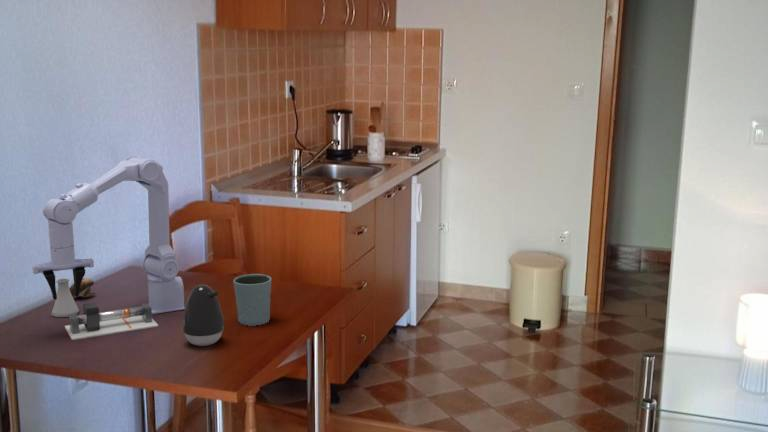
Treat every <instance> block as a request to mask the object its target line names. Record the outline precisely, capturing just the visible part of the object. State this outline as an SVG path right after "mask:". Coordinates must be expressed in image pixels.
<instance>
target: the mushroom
mask: <svg viewBox="0 0 768 432" xmlns="http://www.w3.org/2000/svg"><path fill="white" fill-rule="evenodd" d="M94 283H95V282H94V280H93V279H91V278H90V279H89V278H83V279H82V282H81V285H80V289H79V296H78V297H76V296H75V295H74V283H72V284H71V286H69V289H70V292H71V295H72V297H73V299H76V298H79V297H83V298H84V299H86V298H87V299H88V298H91V297H93V296H94V295H95V292H94V291H92V290H91V287H93V286H94V285H95V284H94Z"/></svg>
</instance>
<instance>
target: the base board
mask: <svg viewBox="0 0 768 432" xmlns="http://www.w3.org/2000/svg"><path fill="white" fill-rule="evenodd" d="M157 327H159V324H158V323H157V322H156V320H154V319H153V318H152V322H149V323H146V322H145V321H144V320H143V319H142V316H135V317H130V318H121V319H115V320H108V321H101V322H100V329H97V330H91V331H88V330H87V328H86V327H85V325H84V324H81V325H79V333H77V334H73V333H72V332H71V330H70V324H68V325H64V329H65V331H66V332H67V334H68V336H69V337H70V339H71V341H74V340H75V341H77V340H81V339H82V340H83V339H88V338H94V337H95V338H96V337H101V336H107V335H113V334H120V333H126V332H132V331H138V330H139V331H140V330H144V329H145V330H146V329H151V328H157Z"/></svg>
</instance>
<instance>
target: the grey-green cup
mask: <svg viewBox="0 0 768 432" xmlns="http://www.w3.org/2000/svg"><path fill="white" fill-rule="evenodd" d="M232 282H233V288H234V295H235V302H236V309H237V311H236V313H237V321H238V323H239V322H240V323H241V324H240V323H239V324H240V325H242V324H244V325H243V326H246V325H248V326H249V327H257V326H256V325H259V326H262V325H261V324H263V325H266V324H268V323H269V322H270V321H271V309H270V308H271V300H272V299H271V294H272V291H271V290H272V277H271V276H269V275H267V274H264V273H263V274H262V273H261V274H260V273H250V274H249V273H248V274H243V275H242V274H241V275H239V276H236V277H235V278H234V279H233V281H232ZM269 320H270V321H269ZM267 322H268V323H267ZM265 323H266V324H265ZM248 326H247V327H248Z"/></svg>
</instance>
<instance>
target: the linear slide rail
mask: <svg viewBox="0 0 768 432" xmlns="http://www.w3.org/2000/svg"><path fill="white" fill-rule="evenodd" d="M148 304H149V303H142V304H141V305H140V306H135V307H126V308H122V309H114V310H107V311H102V312H100V311H99V321H100V322H101V321H108V320H115V319H121V318H130V317H135V316H142V319H143V320H144V321H145V322H146V323H149V322H152V319H153V314H152V308H151V307H150V306H149V305H148ZM68 318H69V320H68V321H69V325H70V330H71V332H72V333H73V334H77V333H79V325H81V324H87V317H86V315H84V314H80V315H79V314H70V315H69V317H68Z"/></svg>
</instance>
